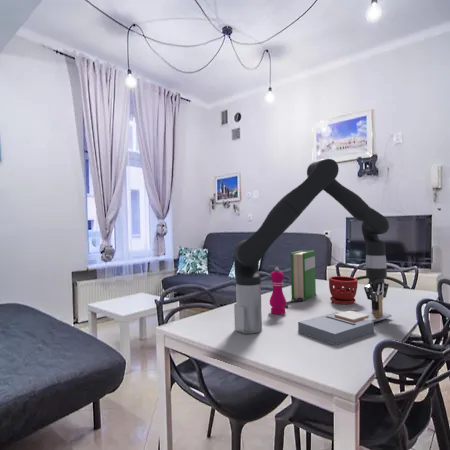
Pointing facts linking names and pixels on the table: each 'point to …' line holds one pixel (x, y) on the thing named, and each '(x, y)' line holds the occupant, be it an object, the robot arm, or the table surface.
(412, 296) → the table surface
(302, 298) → the bracket
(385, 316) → the trowel
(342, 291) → the plant pot
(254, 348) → the table surface
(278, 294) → the pepper mill
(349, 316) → the tile
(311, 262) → the hardback book
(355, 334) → the tile stand
